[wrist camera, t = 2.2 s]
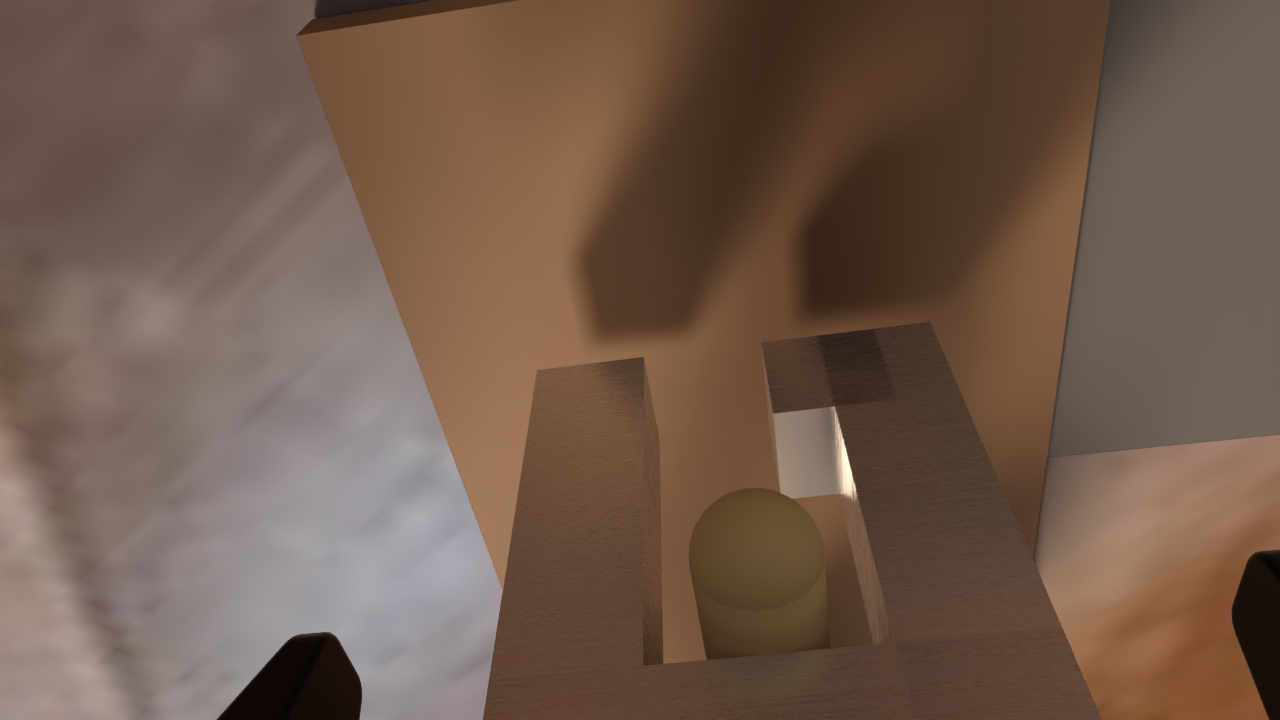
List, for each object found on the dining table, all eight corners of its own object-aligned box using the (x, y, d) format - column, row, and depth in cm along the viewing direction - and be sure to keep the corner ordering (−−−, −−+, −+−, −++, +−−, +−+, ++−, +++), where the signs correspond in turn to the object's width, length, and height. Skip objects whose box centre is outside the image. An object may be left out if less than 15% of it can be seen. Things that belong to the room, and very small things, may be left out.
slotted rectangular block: (930, 322, 12) (1130, 787, 7) (927, 408, 12) (1104, 876, 8) (537, 370, 12) (465, 835, 7) (558, 449, 13) (507, 915, 8)
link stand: (1103, -108, 10) (1615, 162, 5) (998, 724, 20) (1127, 1135, 14) (312, 20, 11) (-26, 364, 6) (575, 754, 21) (545, 1149, 15)
